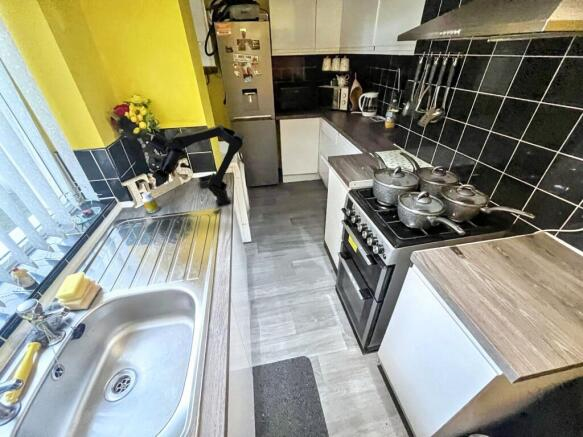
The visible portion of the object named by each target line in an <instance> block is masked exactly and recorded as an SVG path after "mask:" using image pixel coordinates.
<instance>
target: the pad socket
mask: <svg viewBox="0 0 583 437" xmlns="http://www.w3.org/2000/svg"><path fill="white" fill-rule="evenodd" d="M211 176H212V174H207V175H203V176H199V177H198V179H199V183H200V185H201V186H200V187H201V188H202V189H205V188H208V182H209V180H210V178H211Z"/></svg>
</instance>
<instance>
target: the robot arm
mask: <svg viewBox="0 0 583 437" xmlns="http://www.w3.org/2000/svg"><path fill="white" fill-rule="evenodd" d="M217 137H218V138H220V139H221V140H223V141H224V142H225V143H227V144H228V146H227V151H226V153H225V155H224V157H223V159H222V161H221V164H220V165H219V168H218V170H217V172H215V173H214V172H212V173H211V175H212V176H211V178H210V180H209V182H208V187H207V188H208V190H209V192H211V193H212V195H213V196H214V197H215V198H216V200H215V201H216V204H217V206H218V207H223V206H226V205H229V204H231V200H230V198H229V196H228V191H227V188H228V184H227V183H226V182H224V177H225V175H226V174H227V171H228V169H229V167H230V165H231V163H232V161H233V159H234V157H235V156H236V155H237V153H238V152H239V151H240V149H241V148H242V147H243V145H244V141H245V137H244V135H243V133H241V132H240V131H235V130H234V129H230V128H228V127H225V126H223V125H221V124H217V125H216V126H212V127H209V128H208V127H207V128H204V129H201V130H198V131H194V132H179V133H177V134H176V135H175V136H174V137H170V138H169V139H168V138H166V137H164V136H163V135H161V134H160V133H158V132H156V133H155V134H154V136H153V137H152V138H151V140H150V141H149V144H148V146H149V147H151V148H152V149H154V150H156V151H158V152H160V153H161V154H164V153H166V154H165V155H161V154H158V153H154V152H153V153H151V154H150V155H149V156H148V159H147V161H148V163H149V165H150V164H151V165H157V166H158V168H157V169H155V170H154V171H153V172H152V174H151V177H152V178H154V179H155V184H154V185H155V188H159V187H161V186H162V185H164V184H166V183H167V182H168V180H169V178H170V175H172V173H174V172H175V171H176V170H177V168H178V167H179V165H180V163H179V162H180V159H181V157H186V156H188V151H187V149H186V148H188V147H190V146H191V145H193V144H195V143H197V142H198V143H199V142H202V141H207V140H209V139H210V140H211V139H214V138H217Z"/></svg>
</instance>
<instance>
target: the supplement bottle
mask: <svg viewBox="0 0 583 437" xmlns="http://www.w3.org/2000/svg"><path fill="white" fill-rule="evenodd" d="M141 197H142V202H143V205H144V208H145V209H146V211H147V213H149V214H150V213H151V214H152V213H156V212H158V211H159V209H160V208H159V205H158V203H157V200H156V198H155V197H154V195H152V193H151V192H150V191H145V192H143V193H142V194H141Z"/></svg>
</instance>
